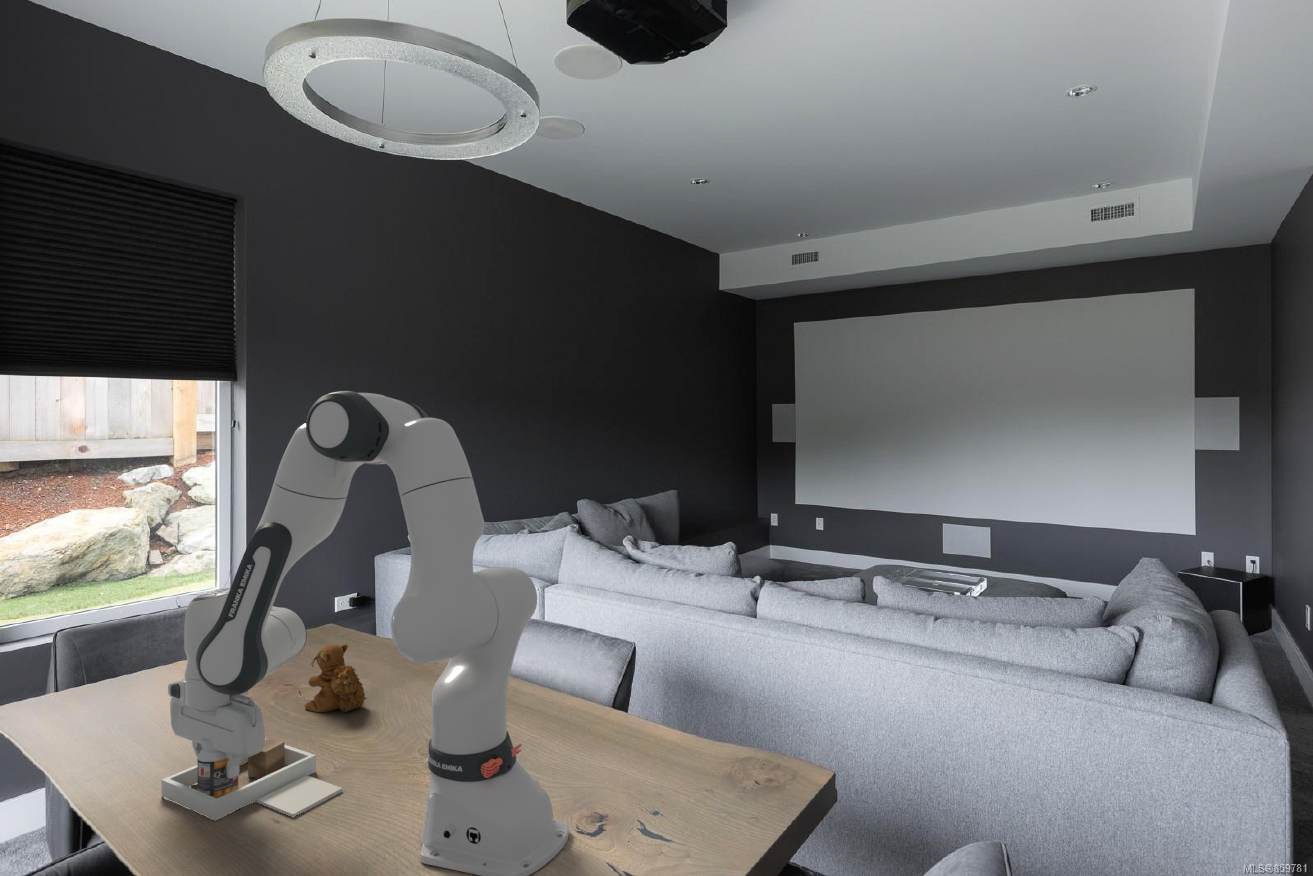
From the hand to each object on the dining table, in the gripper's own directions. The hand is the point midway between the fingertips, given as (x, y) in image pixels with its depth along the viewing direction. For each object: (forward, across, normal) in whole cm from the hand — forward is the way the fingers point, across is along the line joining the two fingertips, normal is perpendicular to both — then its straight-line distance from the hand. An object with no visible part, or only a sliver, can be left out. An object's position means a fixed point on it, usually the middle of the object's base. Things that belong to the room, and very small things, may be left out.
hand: (218, 771), depth 118 cm
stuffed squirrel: (+4, +13, -34) cm, 37 cm away
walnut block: (+4, 0, -8) cm, 9 cm away
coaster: (+4, -12, -6) cm, 14 cm away
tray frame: (+4, 0, -4) cm, 6 cm away
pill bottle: (+4, 0, 0) cm, 4 cm away
